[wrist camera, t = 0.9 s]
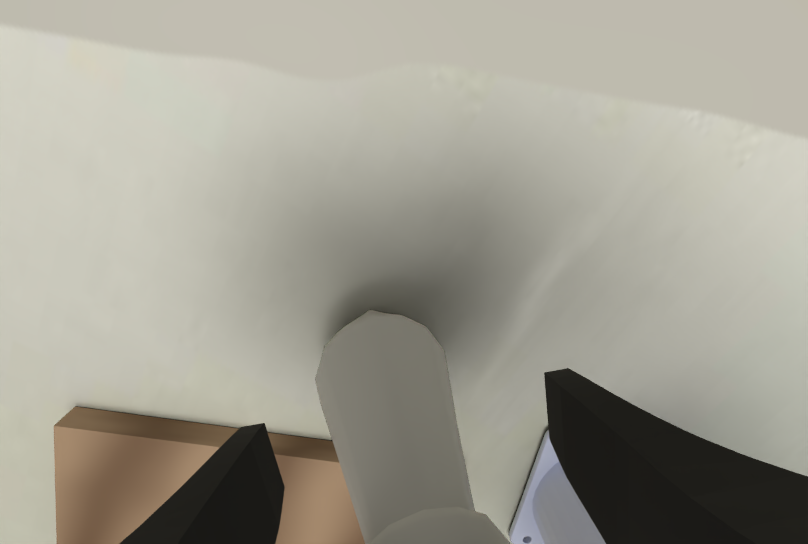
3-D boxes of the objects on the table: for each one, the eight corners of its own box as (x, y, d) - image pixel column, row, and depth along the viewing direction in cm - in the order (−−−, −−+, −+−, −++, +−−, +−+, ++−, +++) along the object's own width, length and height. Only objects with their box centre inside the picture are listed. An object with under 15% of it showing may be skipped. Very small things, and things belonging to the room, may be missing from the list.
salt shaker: (377, 414, 23) (446, 756, 11) (290, 357, 21) (259, 711, 9) (456, 337, 22) (621, 620, 10) (373, 270, 20) (463, 531, 8)
